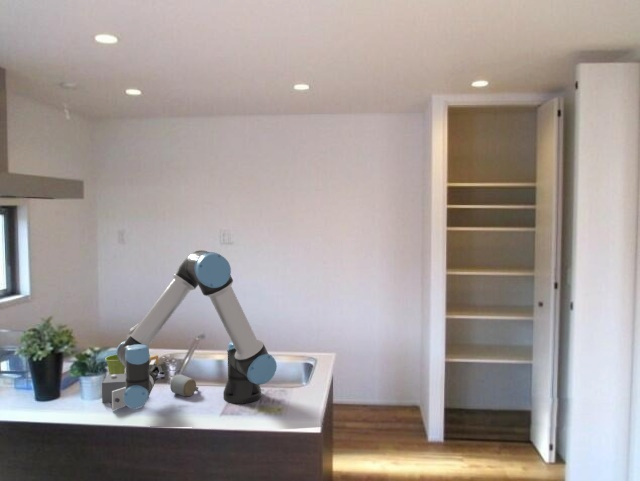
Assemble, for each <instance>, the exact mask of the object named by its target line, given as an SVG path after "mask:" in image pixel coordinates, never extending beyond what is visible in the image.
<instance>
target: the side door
mask: <svg viewBox="0 0 640 481" xmlns="http://www.w3.org/2000/svg"><path fill="white" fill-rule="evenodd" d="M155 359H156V363H157V365H159V354H156V355H151V356H150V359H149V364H150V362H151V360H155ZM125 391H126V387H124V388H121V389H118V390H114V391H112V402H111V410H112V411H114V410H117V409H120V408H123V407H127V405H126V404H125V403H124V400H123V397H124V393H125Z"/></svg>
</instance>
